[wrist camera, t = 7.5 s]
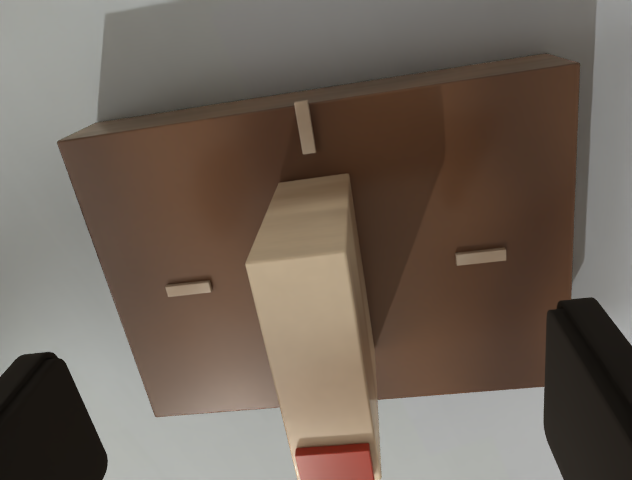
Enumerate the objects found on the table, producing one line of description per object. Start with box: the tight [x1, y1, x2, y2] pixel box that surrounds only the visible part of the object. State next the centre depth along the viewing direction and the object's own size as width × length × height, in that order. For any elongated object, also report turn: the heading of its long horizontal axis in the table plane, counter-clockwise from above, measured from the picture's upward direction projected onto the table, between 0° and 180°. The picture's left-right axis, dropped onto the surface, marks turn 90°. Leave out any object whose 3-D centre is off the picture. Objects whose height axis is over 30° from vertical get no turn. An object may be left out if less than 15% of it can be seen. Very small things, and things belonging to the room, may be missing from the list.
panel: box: [57, 53, 580, 417], centre depth 17 cm, size 14×10×3 cm
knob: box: [245, 173, 382, 480], centre depth 14 cm, size 6×2×5 cm, turn 9°
